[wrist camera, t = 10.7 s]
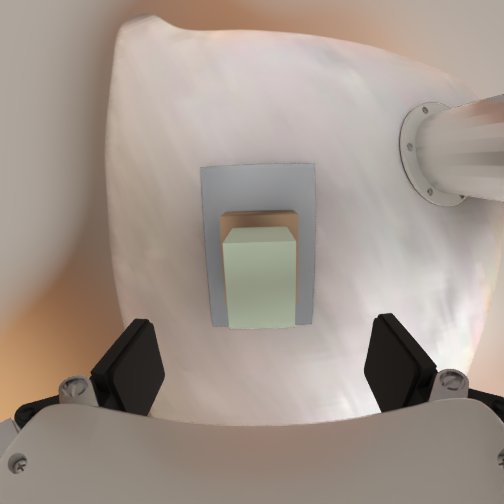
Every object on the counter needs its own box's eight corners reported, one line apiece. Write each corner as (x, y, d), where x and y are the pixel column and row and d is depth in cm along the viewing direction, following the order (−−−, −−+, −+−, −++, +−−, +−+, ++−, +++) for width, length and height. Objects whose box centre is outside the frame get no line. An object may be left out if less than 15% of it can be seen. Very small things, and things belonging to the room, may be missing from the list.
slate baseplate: (312, 164, 26) (314, 163, 25) (310, 319, 30) (311, 324, 29) (202, 168, 26) (200, 167, 25) (214, 322, 30) (212, 326, 29)
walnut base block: (292, 209, 26) (298, 214, 22) (292, 287, 28) (297, 303, 24) (225, 211, 26) (219, 216, 22) (230, 289, 28) (225, 305, 24)
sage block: (286, 226, 22) (296, 241, 17) (287, 293, 24) (294, 327, 18) (232, 227, 23) (222, 243, 17) (236, 295, 24) (229, 329, 18)
